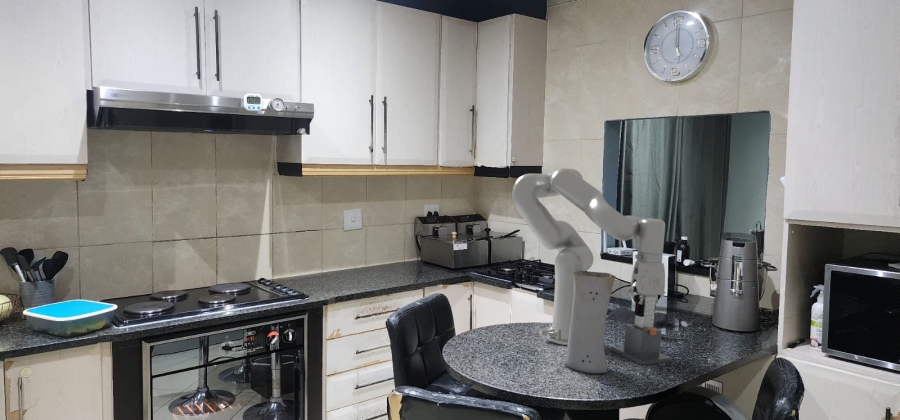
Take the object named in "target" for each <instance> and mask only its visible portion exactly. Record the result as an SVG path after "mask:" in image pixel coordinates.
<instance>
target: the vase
mask: <svg viewBox="0 0 900 420" xmlns="http://www.w3.org/2000/svg"><path fill="white" fill-rule="evenodd" d="M573 279H574V286H573V303H572V313H571V321H570V329H569V337H568V345H566V347H567V348H566V356H565V360H564V365H565V366H566V367H567V368H568V369H570V371H575V372H579V373H583V374H589V375H590V374H591V375H597V374H599V375H601V374H608V365H607V361H606V353H605V330H606V328H605V327H606V319H607V316H608V315H607V313H608V310H609V305H610V299H611V295H612V291H613V287H614V283H615V280H616V275H613V274H611V273H609V272H600V271H598V272H597V271H588V270H587V271H578V272H575V273H573Z"/></svg>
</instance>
